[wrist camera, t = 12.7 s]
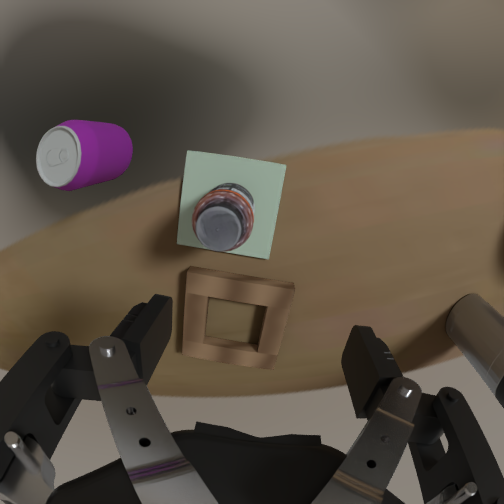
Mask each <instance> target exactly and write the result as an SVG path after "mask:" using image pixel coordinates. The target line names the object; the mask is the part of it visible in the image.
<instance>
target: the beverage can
mask: <svg viewBox="0 0 504 504" xmlns="http://www.w3.org/2000/svg"><path fill="white" fill-rule="evenodd" d="M132 151H133V148H132V141H131V139H130V137H129V135H128V133H127V132H126V131H125V130H124V129H123V128H122V127H119V126H117V125H115V124H110V123H101V122H92V121H81V120H68V121H66V122H63V123H61V124H59V125H58V126H56V127H54V128H52V129H50V130H49V131H48V132H47V133H46V134H45V135H44V136H43V137H42V139H41V141H40V143H39V146H38V149H37V156H36V164H37V170H38V172H39V175H40V177H41V178H42V180H43V181H44V182H45V183H46V184H48V185H49V186H53V187H55V188H58V189H61V190H66V191H72V190H75V189H79V188H82V187H86V186H90V185H93V184H97V183H101V182H105V181H109V180H113V179H115V178H117V177H118V176H120V175H122V174H123V173H124V171H125V170H126V169H127V168H128V166H129V163H130V161H131V159H132Z"/></svg>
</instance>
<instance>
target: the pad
mask: <svg viewBox="0 0 504 504" xmlns="http://www.w3.org/2000/svg"><path fill="white" fill-rule="evenodd" d="M285 170H286V165H283V164H278V163H272V162H266V161H261V160H254V159H248V158H242V157H235V156H228V155H221V154H213V153H205V152H197V151H187V156H186V163H185V171H184V179H183V187H182V195H181V204H180V214H179V224H178V235H177V244H180V245H186V246H192V247H198V248H204V249H208V248H206V247H205V246H203V245H202V244H201V242H200V241H199V240H198V238H197V237H196V235H195V233H194V231H193V227H192V214H193V211H194V208H195V206H196V205H197V203H198V202H199V200H200V199H201V198H202V197H204V196H205V195H206V194H207V193H209V192H210V191H211V190H212V189H214V188H215V187H216V186H218V185H221V184H224V183H236V184H239V185H241V186H243V187H244V188H246V189H247V190H248V191H249V192H250V194H251V195H252V197H253V200H254V205H255V212H254V223H253V229H252V232H251V235H250V237H249V238H248V240H247V241H246V242H245V243H244V244H243V245H241V246H240V247H238V248H237V249H235V250H232V251H227V252H228V253H234V254H240V255H246V256H252V257H258V258H264V259H269V255H270V250H271V245H272V239H273V234H274V229H275V224H276V218H277V213H278V208H279V203H280V197H281V192H282V186H283V181H284V176H285Z"/></svg>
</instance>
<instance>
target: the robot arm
mask: <svg viewBox="0 0 504 504" xmlns="http://www.w3.org/2000/svg"><path fill="white" fill-rule="evenodd" d="M172 303H173V301H172V297H168V296H164V295H159V294H154V296H153V297H152V298H151V300H150V301H149V302H148V303H143V302H142V303H140V304H138V305H136V306H134V307H133V308H132V309H131V310H130V311H129V313H128V315H126V316H125V318H124V320H122V321H121V323H120V324H119V325H118V326H117V327H116V329H115V330H114V331H113V333H112V334H111V335H110V336H104V337H100V338H97V339H95V340H93V341H92V342H91V344H90V346H78V345H70V340H69V338H68V336H67V335H66V334H64V333H62V332H55V331H53V332H48V333H45V334H43V335H41V336H40V337H39V338H38V339H37V340H36V341H35V342H34V344H33V345H32V346H31V347H30V348H29V349H28V350H27V351H26V352H25V353H24V355H23V356H22V357H21V358H20V359H19V360H18V361H17V363H16V364H15V365H14V366H13V367H12V368H11V370H10V371H9V372H8V373H7V374H6V376H5V377H4V378H3V379H2V380H1V382H0V499H1V500H2V501H3V502H4V503H5V504H405V503H403V502H402V501H401V500H400V499H398V498H397V497H396V496H395V495H394V494H392V493H391V492H390V491H388V490H387V489H386V488H387V486H388V484H389V482H390V480H391V478H392V476H393V474H394V472H395V470H396V468H397V466H398V464H399V461H400V459H401V457H402V455H403V452H404V450H405V448H406V445H407V443H408V444H409V448H410V451H411V455H412V458H413V462H414V465H415V469H416V472H417V476H418V480H419V484H420V488H421V492H422V496H423V500H424V504H504V478H503V475H502V473H501V471H500V468H499V466H498V464H497V461H496V459H495V457H494V455H493V453H492V450H491V448H490V446H489V444H488V442H487V440H486V438H485V436H484V434H483V432H482V430H481V428H480V426H479V424H478V422H477V420H476V418H475V416H474V414H473V412H472V411H471V409H470V407H469V405H468V403H467V401H466V400H465V398H464V396H463V395H462V394H461V393H460V392H459V391H458V390H456V389H454V388H451V387H443V388H441V389H440V391H439V392H438V394H437V395H436V396H435V395H430V394H425V393H422V390H421V388H420V386H419V385H418V384H417V383H416V382H415V381H413V380H411V379H409V378H405V377H403V375H402V373H401V371H400V369H399V367H398V365H397V363H396V361H395V360H394V358H393V356H392V354H390V350H389V348H388V346H387V345H386V344H385V343H384V342H383V341H382V340H381V339H380V338H376V336H375V334H374V332H373V330H372V328H371V327H368V326H358V325H355V326H353V328H352V330H351V333H350V335H349V338H348V341H347V343H346V346H345V349H344V351H343V354H342V360H341V364H342V368H343V372H344V375H345V378H346V382H347V385H348V389H349V392H350V396H351V399H352V403H353V407H354V410H355V414H356V418H367V420H368V422H367V423H366V425H365V427H364V428H363V430H362V431H361V433H360V434H359V436H358V437H357V439H356V440H355V442H354V443H353V445H352V447H351V448H350V449H349V451H348V452H347V454H344V453H343V452H341V451H339V450H337V449H335V448H333V447H330V446H327V445H324V444H321V438H320V436H319V435H296V434H289V435H281V436H274V437H264V438H259V437H255V436H252V435H248V434H246V433H242V432H240V431H236V430H234V429H231V428H228V427H223V426H217V425H212V424H206V423H201V422H196V426H195V429H194V430H181V431H176V432H173V433H170V431H169V430H168V428H167V427H166V424H165V423H164V420H163V418H162V416H161V414H160V413H159V411H158V409H157V407H156V405H155V403H154V400H153V399H152V396H151V394H150V392H149V390H148V388H147V384H148V382H149V380H150V378H151V376H152V374H153V372H154V370H155V368H156V366H157V364H158V362H159V360H160V358H161V356H162V354H163V352H164V350H165V348H166V346H167V344H168V342H169V339H170V336H171V332H172ZM446 333H447V334H448V336H449V337H450V338H451V339H452V341H453V342H454V343H455V344H456V346H457V347H458V348H459V349H460V351H461V352H462V353H463V354H464V356H465V357H466V358H467V359H468V361H469V362H470V363H471V365H472V366H473V367H474V368H475V370H476V371H477V372H478V374H479V375H480V376H481V378H482V379H483V380H484V382H485V383H486V384H487V386H488V387H489V388H490V390H491V391H492V393H493V394H494V395H495V397H496V398H497V400H498V401H499V403H500V404H501V405H502V407H503V408H504V317H503V316H502V315H501V314H500V313H499V312H498V311H496V310H495V309H494V308H493V307H492V306H491V305H490V304H489V303H487V302H486V301H485V300H484V299H483V298H482V297H480V296H479V295H477V294H469V295H467V296H465V297H463V298H462V299H461V300H460V301H458V302H457V304H456V305H455V306H454V307H453V309H452V310H451V312H450V314H449V316H448V318H447V321H446ZM82 399H85V400H96V401H102V404H103V408H104V411H105V414H106V417H107V421H108V423H109V426H110V429H111V432H112V435H113V438H114V441H115V443H116V446H117V449H118V451H119V454H120V457H121V458H119V459H118V460H115V461H114V462H111V463H109V464H107V465H105V466H103V467H101V468H99V469H97V470H94V471H92V472H90V473H87V474H85V475H83V476H81V477H78V478H76V479H74V480H71V481H69V482H66V483H64V484H62V485H60V486H59V487H57V488H56V489H54V479H55V468H54V466H53V464H52V462H51V461H50V459H51V457H52V455H53V453H54V451H55V449H56V447H57V445H58V443H59V441H60V439H61V437H62V435H63V433H64V431H65V429H66V428H67V426H68V424H69V422H70V420H71V418H72V416H73V415H74V413H75V411H76V409H77V407H78V406H79V404H80V402H81V400H82ZM443 433H445V436H446V438H447V440H448V445H449V446H448V451H447V453H445V451H444V448H443V445H442V443H441V440H440V437H441V436H442V434H443Z"/></svg>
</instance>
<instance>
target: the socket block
mask: <svg viewBox="0 0 504 504" xmlns="http://www.w3.org/2000/svg"><path fill="white" fill-rule="evenodd" d="M294 293H295V287H294V283H290V282H283V281H277V280H271V279H264V278H258V277H252V276H246V275H240V274H234V273H228V272H222V271H216V270H210V269H205V268H199V267H193V266H190V268H189V270H188V271H187V279H186V293H185V308H184V326H183V347H182V355H185V356H190V357H195V358H200V359H205V360H211V361H216V362H222V363H228V364H234V365H241V366H248V367H255V368H262V369H270V370H274V367H275V363H276V360H277V356H278V353H279V349H280V345H281V342H282V338H283V335H284V331H285V327H286V323H287V320H288V316H289V312H290V308H291V304H292V300H293V296H294ZM209 297H214V298H219V299H225V300H231V301H237V302H243V303H249V304H256V305H262V306H266V309H265V314H264V318H263V323H262V327H261V332H260V336H259V341H258V344H251V343H244V342H238V341H231V340H225V339H220V338H214V337H208V336H205V332H206V323H207V313H208V304H209Z"/></svg>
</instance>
